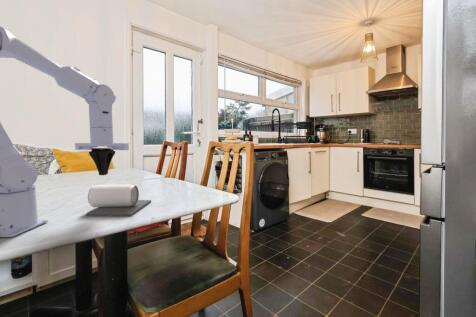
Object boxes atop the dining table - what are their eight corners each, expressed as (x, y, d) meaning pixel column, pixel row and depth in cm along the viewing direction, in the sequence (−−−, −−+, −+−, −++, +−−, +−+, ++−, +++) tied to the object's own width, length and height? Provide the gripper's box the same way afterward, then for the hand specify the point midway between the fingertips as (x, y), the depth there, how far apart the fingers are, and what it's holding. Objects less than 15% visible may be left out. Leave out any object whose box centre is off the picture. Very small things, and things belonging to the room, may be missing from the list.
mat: (131, 216, 63) (131, 213, 63) (86, 215, 63) (86, 213, 63) (151, 201, 77) (151, 200, 77) (114, 201, 77) (114, 199, 77)
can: (87, 209, 66) (130, 207, 66) (87, 185, 66) (130, 184, 67) (99, 205, 72) (139, 204, 73) (99, 184, 73) (139, 183, 73)
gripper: (132, 128, 72) (134, 172, 73) (85, 128, 72) (87, 172, 73) (121, 127, 65) (122, 176, 66) (68, 127, 65) (71, 176, 66)
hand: (103, 174), depth 69 cm, fingers closed
